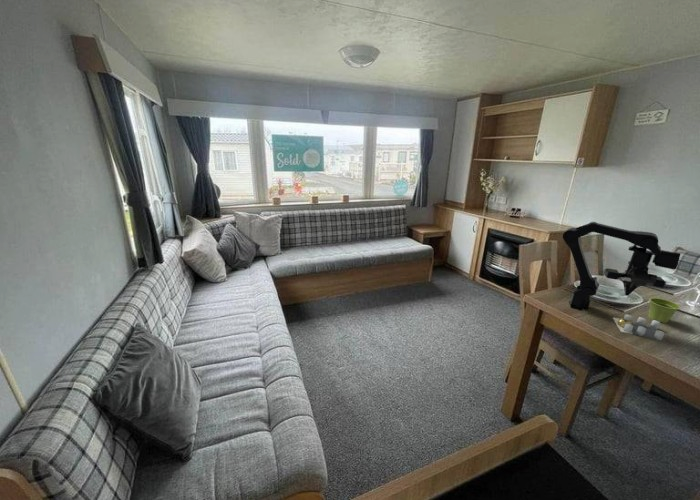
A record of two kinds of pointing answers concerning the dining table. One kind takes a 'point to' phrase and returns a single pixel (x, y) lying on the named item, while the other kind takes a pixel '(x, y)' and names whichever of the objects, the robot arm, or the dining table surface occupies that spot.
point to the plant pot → (662, 309)
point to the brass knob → (623, 322)
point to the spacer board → (642, 328)
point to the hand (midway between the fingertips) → (626, 295)
